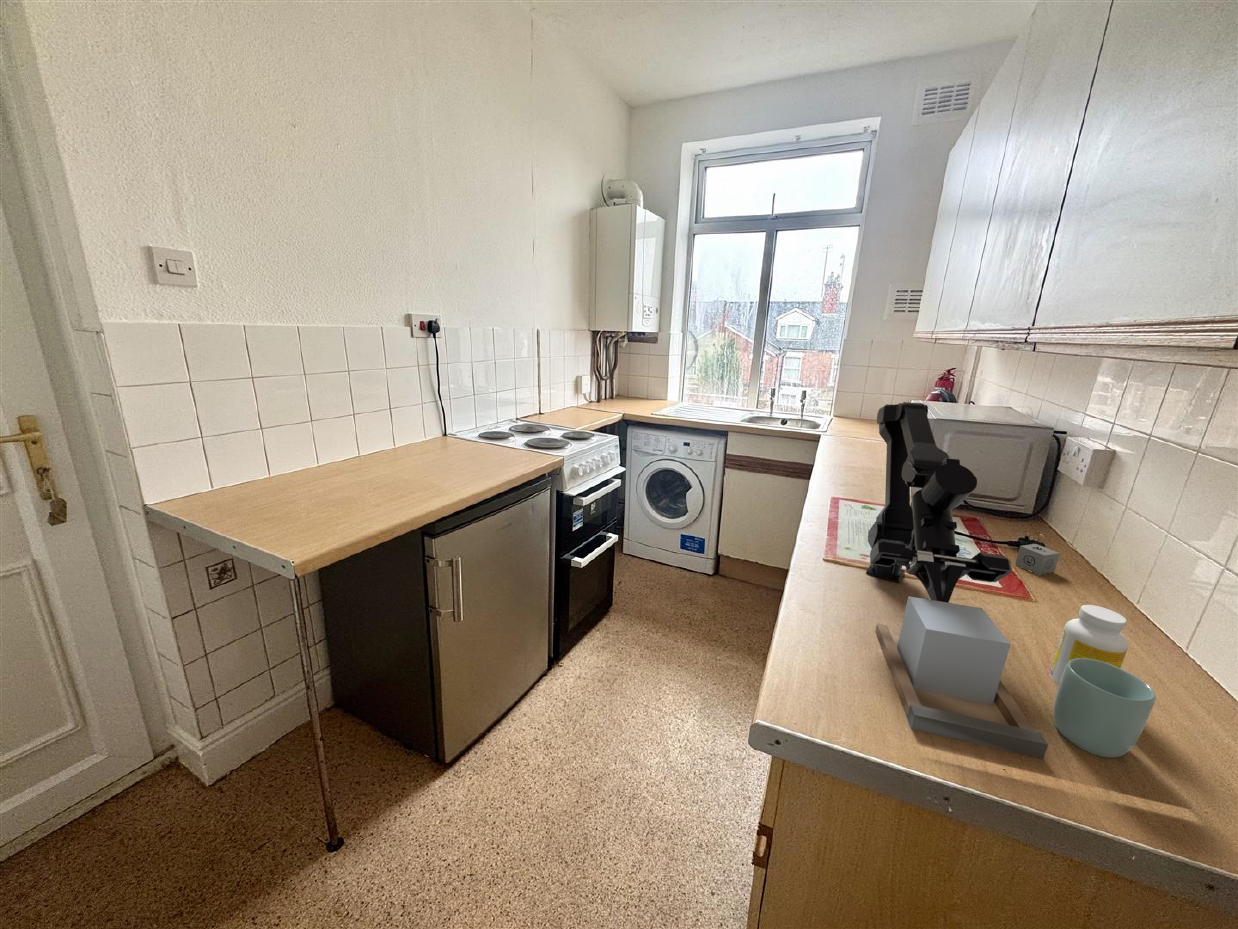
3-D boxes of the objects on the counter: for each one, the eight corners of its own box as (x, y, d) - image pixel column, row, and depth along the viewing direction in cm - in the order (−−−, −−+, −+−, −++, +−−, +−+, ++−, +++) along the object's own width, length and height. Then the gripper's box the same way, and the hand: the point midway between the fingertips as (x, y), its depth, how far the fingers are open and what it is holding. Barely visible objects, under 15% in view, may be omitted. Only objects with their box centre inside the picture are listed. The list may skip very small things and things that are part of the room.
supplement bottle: (1121, 709, 67) (1151, 630, 64) (1067, 700, 69) (1094, 623, 65) (1086, 677, 74) (1112, 604, 70) (1038, 670, 75) (1061, 598, 71)
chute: (874, 635, 82) (877, 620, 81) (970, 653, 78) (974, 637, 77) (909, 733, 62) (914, 714, 61) (1041, 764, 58) (1048, 744, 57)
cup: (1146, 765, 58) (1174, 698, 56) (1094, 773, 57) (1121, 704, 54) (1078, 716, 66) (1100, 655, 63) (1031, 722, 64) (1051, 659, 62)
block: (896, 650, 77) (908, 596, 74) (967, 664, 74) (982, 608, 72) (912, 688, 69) (926, 629, 66) (992, 705, 66) (1010, 643, 63)
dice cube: (1029, 563, 112) (1035, 543, 110) (1053, 573, 107) (1060, 553, 106) (1014, 565, 110) (1020, 545, 109) (1038, 575, 106) (1044, 555, 104)
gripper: (974, 547, 85) (985, 635, 78) (861, 531, 90) (862, 613, 83) (1005, 522, 76) (1022, 619, 69) (878, 506, 81) (881, 595, 74)
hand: (941, 612), depth 74 cm, fingers closed
